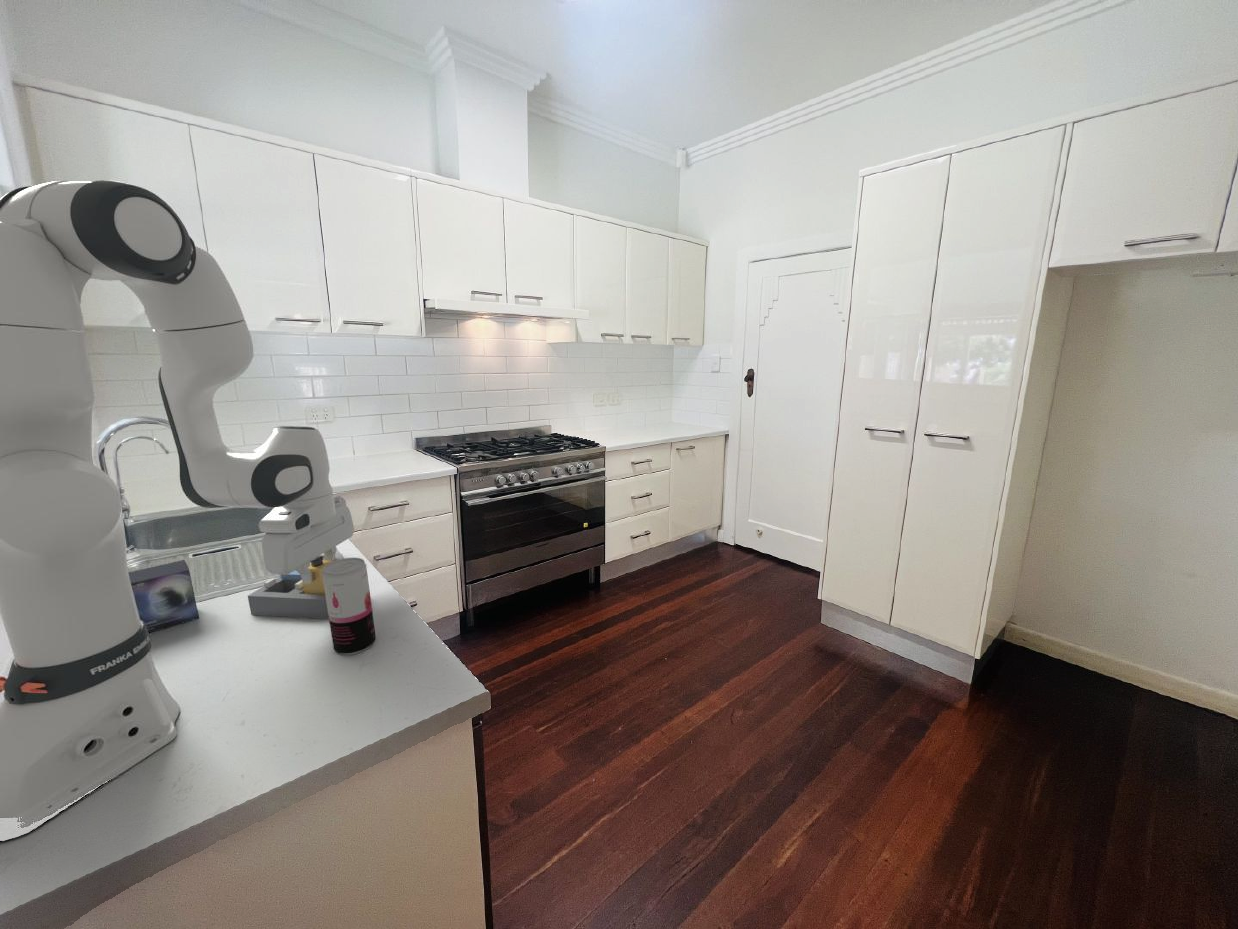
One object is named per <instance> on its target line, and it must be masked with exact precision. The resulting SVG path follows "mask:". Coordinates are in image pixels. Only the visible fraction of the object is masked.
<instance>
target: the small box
mask: <svg viewBox="0 0 1238 929" xmlns="http://www.w3.org/2000/svg"><path fill="white" fill-rule="evenodd" d="M128 573H129V577H130V582H131V586H132V590H133V594H134V598H135V602H136V606H137V610H138V613H139V617H140V620H142V621H144V622H145V624H146V627H147V630H148V634H149V632H150V633H152V632H155V631H156V630H157V631H159V630H160V631H161V630H163V629H162V628H164V629H166V627H167V628H170V627H173V626H177V625H180V623H181V624H184V623H187V622H186V621H188V622H190V621H189V620H191V621H193V620H192V619H195V620H197V619H199V618H200V617H199V611H198V607H197V601H196V596H195V592H194V586H193V583H192V581H193V580H192V577H191V571H190V569H189V566H188V564H187V562H186V560H185V559H182V560H178V561H173V562H168V563H163V564H160V565H156V566H151V567H147V568H146V567H145V568H142V569H138V570H133V571H128ZM183 622H184V623H183ZM169 626H170V627H169Z"/></svg>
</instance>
